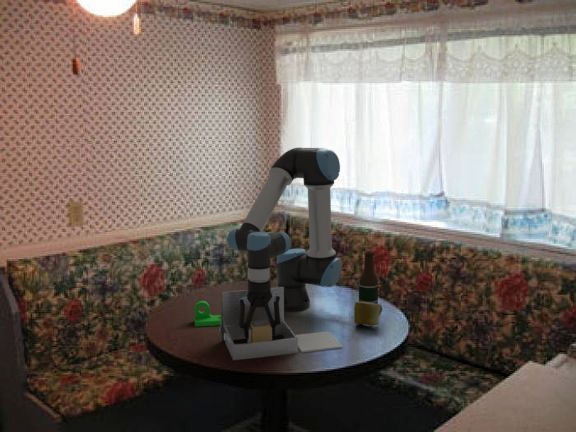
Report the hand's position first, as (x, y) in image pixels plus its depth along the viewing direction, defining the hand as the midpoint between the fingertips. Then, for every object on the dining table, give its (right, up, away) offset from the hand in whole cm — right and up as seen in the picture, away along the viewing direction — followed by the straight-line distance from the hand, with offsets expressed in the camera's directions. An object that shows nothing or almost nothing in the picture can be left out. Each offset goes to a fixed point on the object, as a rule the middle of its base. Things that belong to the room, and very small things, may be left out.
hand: (259, 345), depth 193 cm
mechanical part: (-19, +3, +23) cm, 30 cm away
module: (0, 0, 0) cm, 0 cm away
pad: (+19, 0, +3) cm, 19 cm away
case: (0, 0, 0) cm, 0 cm away
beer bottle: (+41, +6, +35) cm, 54 cm away
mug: (+39, +3, +16) cm, 42 cm away
